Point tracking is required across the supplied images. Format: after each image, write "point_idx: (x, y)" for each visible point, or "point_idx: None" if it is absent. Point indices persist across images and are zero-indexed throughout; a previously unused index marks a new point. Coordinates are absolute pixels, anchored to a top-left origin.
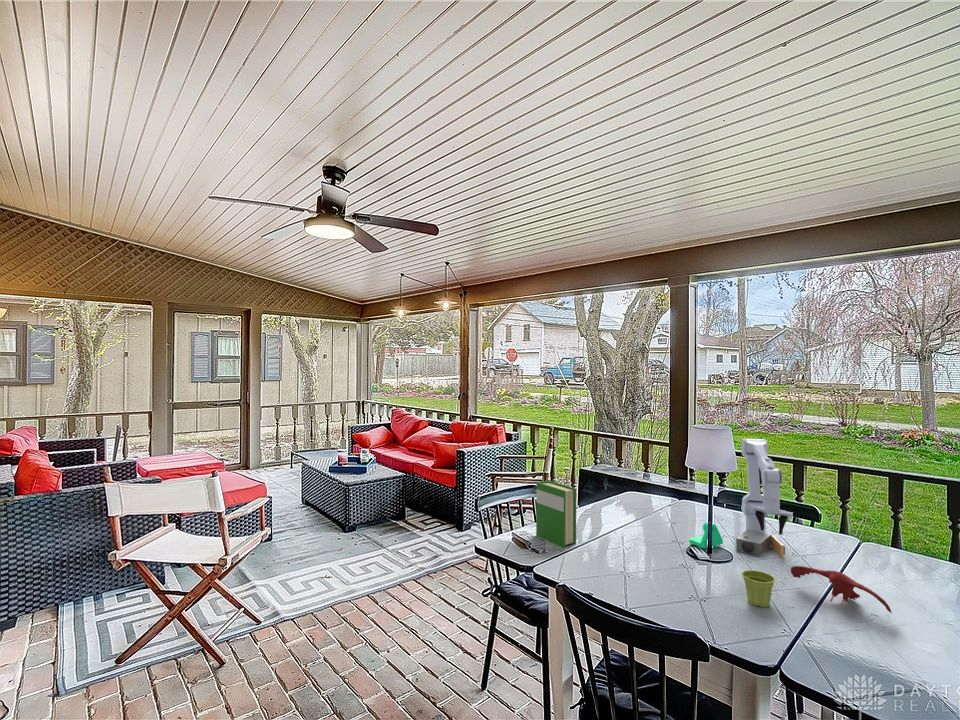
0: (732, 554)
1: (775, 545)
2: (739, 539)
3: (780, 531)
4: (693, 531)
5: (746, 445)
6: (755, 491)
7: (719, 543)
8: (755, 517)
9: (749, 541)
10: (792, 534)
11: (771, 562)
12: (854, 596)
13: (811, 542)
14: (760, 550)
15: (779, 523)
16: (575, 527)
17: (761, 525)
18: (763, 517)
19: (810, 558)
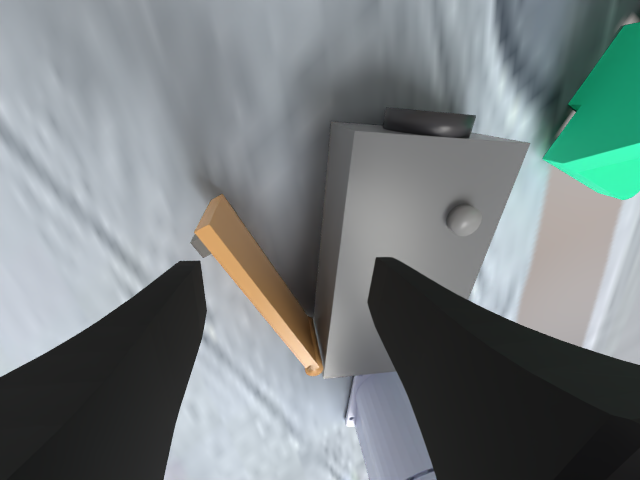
0: (494, 16)
1: (279, 290)
2: (506, 140)
3: (166, 277)
4: (626, 266)
5: None
6: None
7: (571, 128)
8: (432, 477)
9: (437, 137)
10: (274, 474)
11: (244, 33)
12: None
13: (194, 459)
14: (340, 125)
15: (106, 369)
16: None
17: (418, 283)
18: (448, 439)
19: (102, 296)
